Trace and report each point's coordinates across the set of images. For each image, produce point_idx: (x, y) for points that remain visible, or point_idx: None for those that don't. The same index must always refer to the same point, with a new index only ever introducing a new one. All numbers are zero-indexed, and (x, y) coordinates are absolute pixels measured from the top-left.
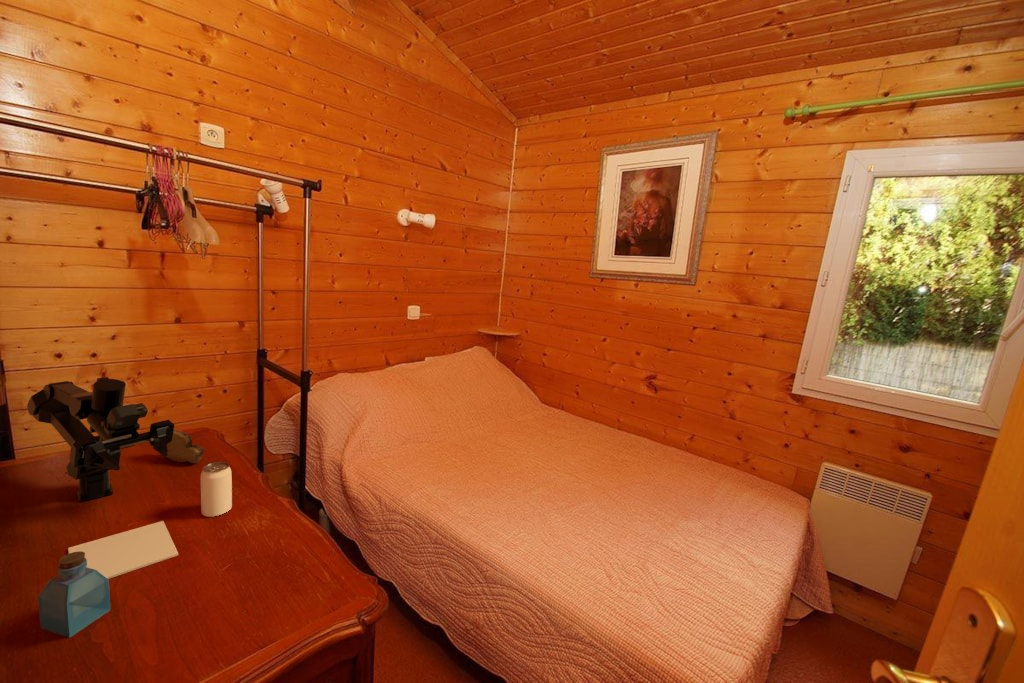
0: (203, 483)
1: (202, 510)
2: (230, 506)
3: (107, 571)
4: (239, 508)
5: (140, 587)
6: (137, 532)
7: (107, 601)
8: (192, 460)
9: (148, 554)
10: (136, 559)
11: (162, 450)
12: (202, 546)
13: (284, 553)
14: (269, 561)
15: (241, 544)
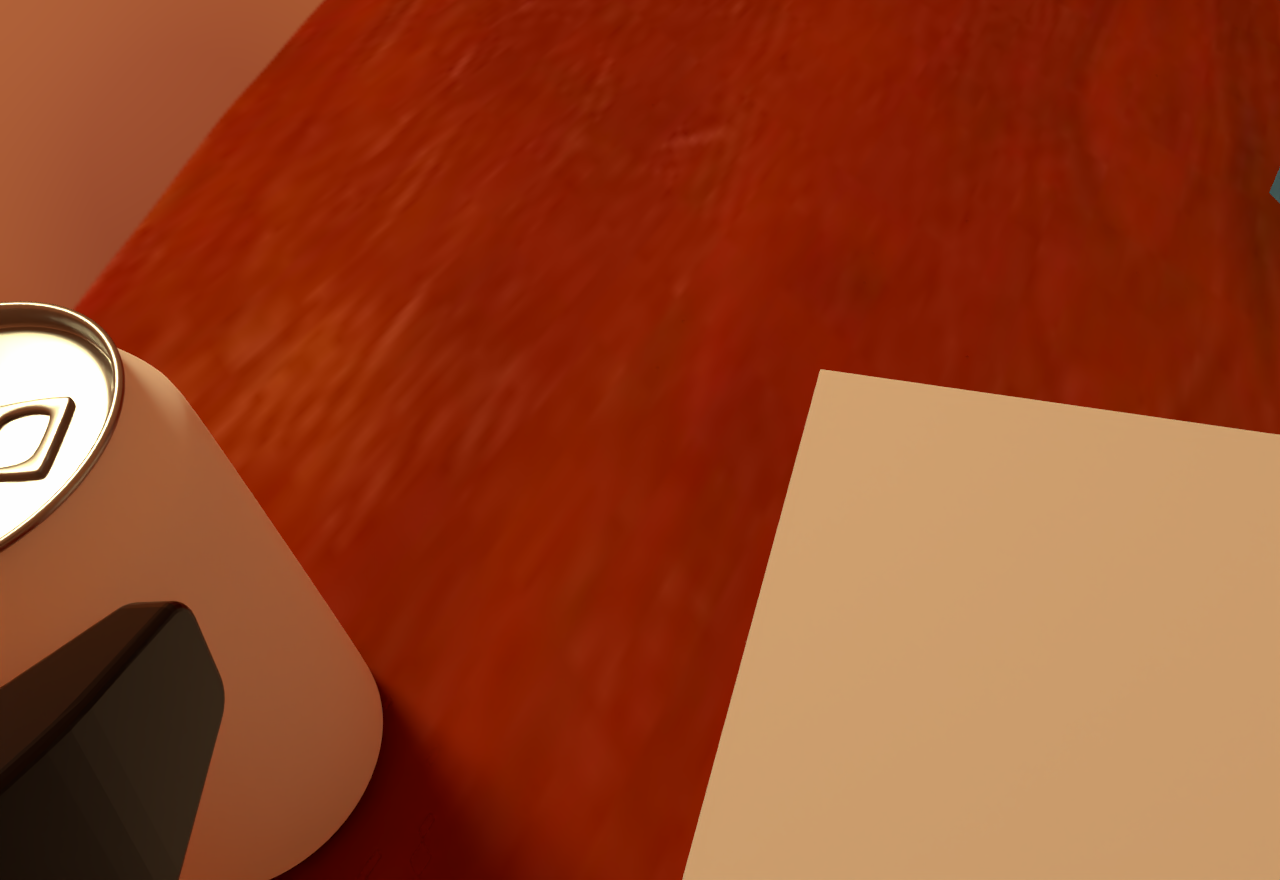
0: (230, 521)
1: (363, 737)
2: None
3: (1264, 495)
4: None
5: (1102, 252)
6: None
7: None
8: None
9: (973, 497)
10: (1060, 495)
11: (80, 831)
12: (667, 364)
13: (464, 67)
14: (549, 63)
15: (519, 238)
